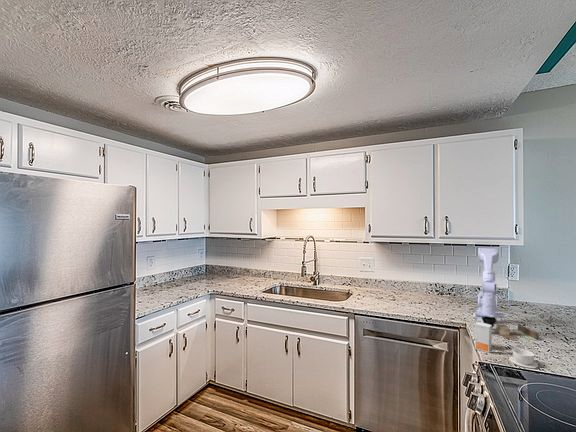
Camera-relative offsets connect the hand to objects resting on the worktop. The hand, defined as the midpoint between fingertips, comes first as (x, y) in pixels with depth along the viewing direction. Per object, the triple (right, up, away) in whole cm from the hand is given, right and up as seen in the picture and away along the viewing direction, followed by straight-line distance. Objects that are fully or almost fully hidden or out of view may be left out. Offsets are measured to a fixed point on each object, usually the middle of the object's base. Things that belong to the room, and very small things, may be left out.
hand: (488, 331), depth 161 cm
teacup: (-4, -3, -29) cm, 30 cm away
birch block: (+7, -1, 0) cm, 7 cm away
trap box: (+12, -3, -1) cm, 12 cm away
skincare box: (-14, -3, -17) cm, 22 cm away
